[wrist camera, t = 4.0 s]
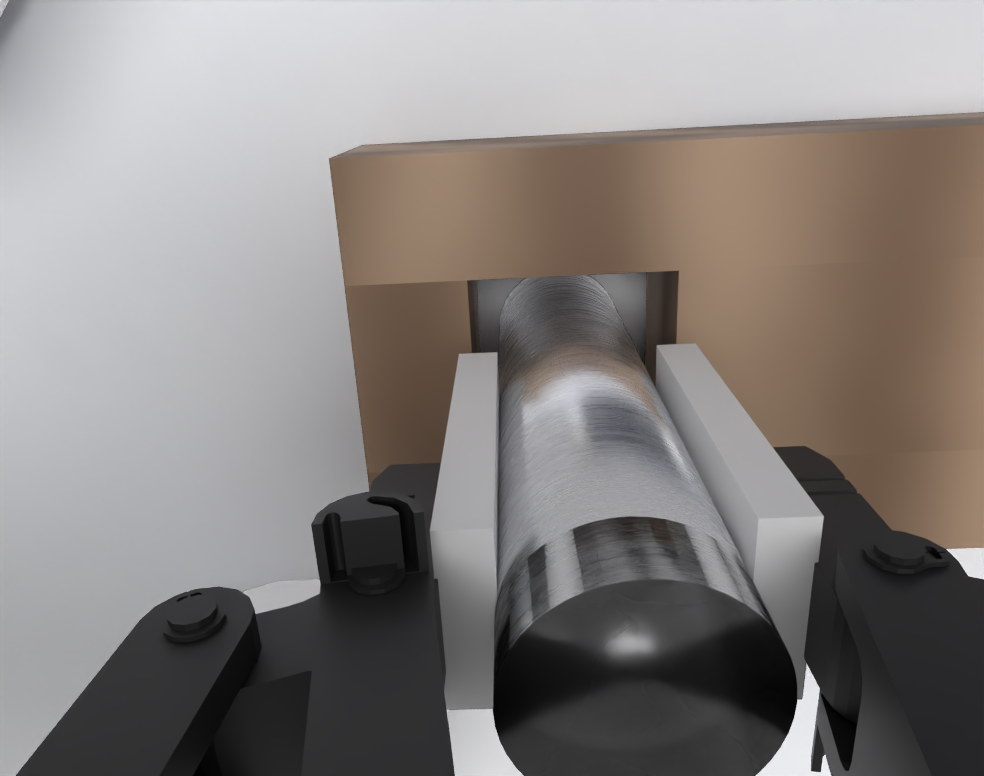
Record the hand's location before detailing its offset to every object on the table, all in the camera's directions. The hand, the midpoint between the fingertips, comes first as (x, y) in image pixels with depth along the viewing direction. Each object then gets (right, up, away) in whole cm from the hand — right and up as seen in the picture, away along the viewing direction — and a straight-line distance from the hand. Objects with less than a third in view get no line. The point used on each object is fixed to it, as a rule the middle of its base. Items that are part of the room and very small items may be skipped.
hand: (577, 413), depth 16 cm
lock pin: (0, +2, +6) cm, 6 cm away
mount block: (+7, +3, +6) cm, 9 cm away
